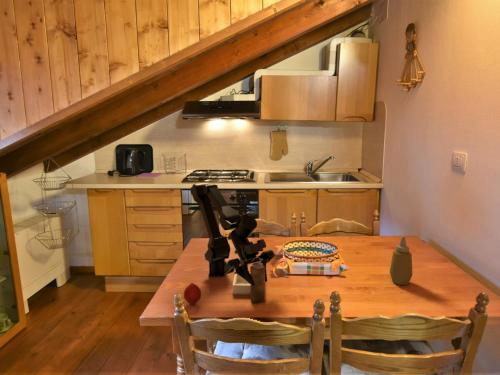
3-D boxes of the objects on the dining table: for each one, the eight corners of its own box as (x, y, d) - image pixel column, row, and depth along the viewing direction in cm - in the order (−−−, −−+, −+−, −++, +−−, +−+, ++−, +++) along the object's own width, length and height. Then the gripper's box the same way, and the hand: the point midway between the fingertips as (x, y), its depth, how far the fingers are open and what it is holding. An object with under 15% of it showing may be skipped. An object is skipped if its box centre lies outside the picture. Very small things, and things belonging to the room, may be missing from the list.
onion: (185, 300, 129) (184, 279, 127) (201, 299, 129) (201, 278, 128) (183, 309, 123) (182, 286, 121) (201, 308, 123) (200, 285, 122)
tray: (232, 294, 133) (232, 285, 132) (235, 281, 144) (235, 272, 143) (263, 294, 132) (263, 285, 132) (264, 281, 143) (264, 272, 143)
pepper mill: (250, 303, 126) (249, 267, 124) (250, 296, 131) (250, 261, 129) (265, 303, 126) (264, 267, 124) (265, 296, 131) (264, 261, 128)
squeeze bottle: (411, 279, 144) (414, 234, 141) (412, 288, 136) (416, 241, 133) (388, 276, 146) (391, 233, 143) (389, 285, 139) (392, 239, 136)
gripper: (227, 237, 122) (246, 280, 115) (272, 228, 133) (292, 266, 126) (216, 253, 130) (233, 294, 123) (259, 243, 140) (277, 280, 133)
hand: (260, 283), depth 126 cm, fingers closed on pepper mill, 5 cm apart
